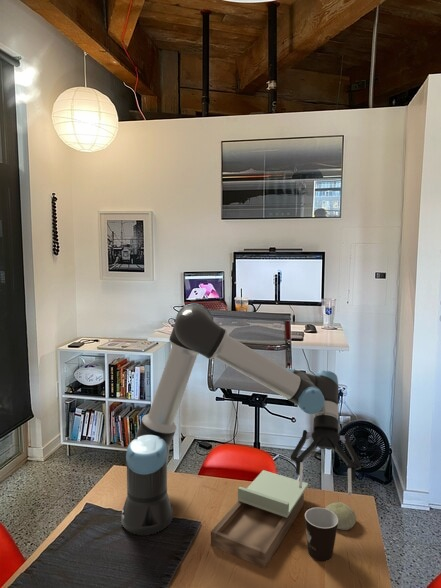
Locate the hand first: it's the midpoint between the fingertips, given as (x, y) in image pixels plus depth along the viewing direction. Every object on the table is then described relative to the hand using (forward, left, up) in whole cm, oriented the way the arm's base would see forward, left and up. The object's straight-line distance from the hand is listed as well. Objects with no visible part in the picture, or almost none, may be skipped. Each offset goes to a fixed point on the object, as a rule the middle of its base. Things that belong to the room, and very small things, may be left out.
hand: (324, 490), depth 118 cm
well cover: (-17, +4, -8) cm, 19 cm away
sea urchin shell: (+3, +7, -13) cm, 15 cm away
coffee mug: (+1, -8, -12) cm, 15 cm away
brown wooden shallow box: (-17, -7, -12) cm, 22 cm away
